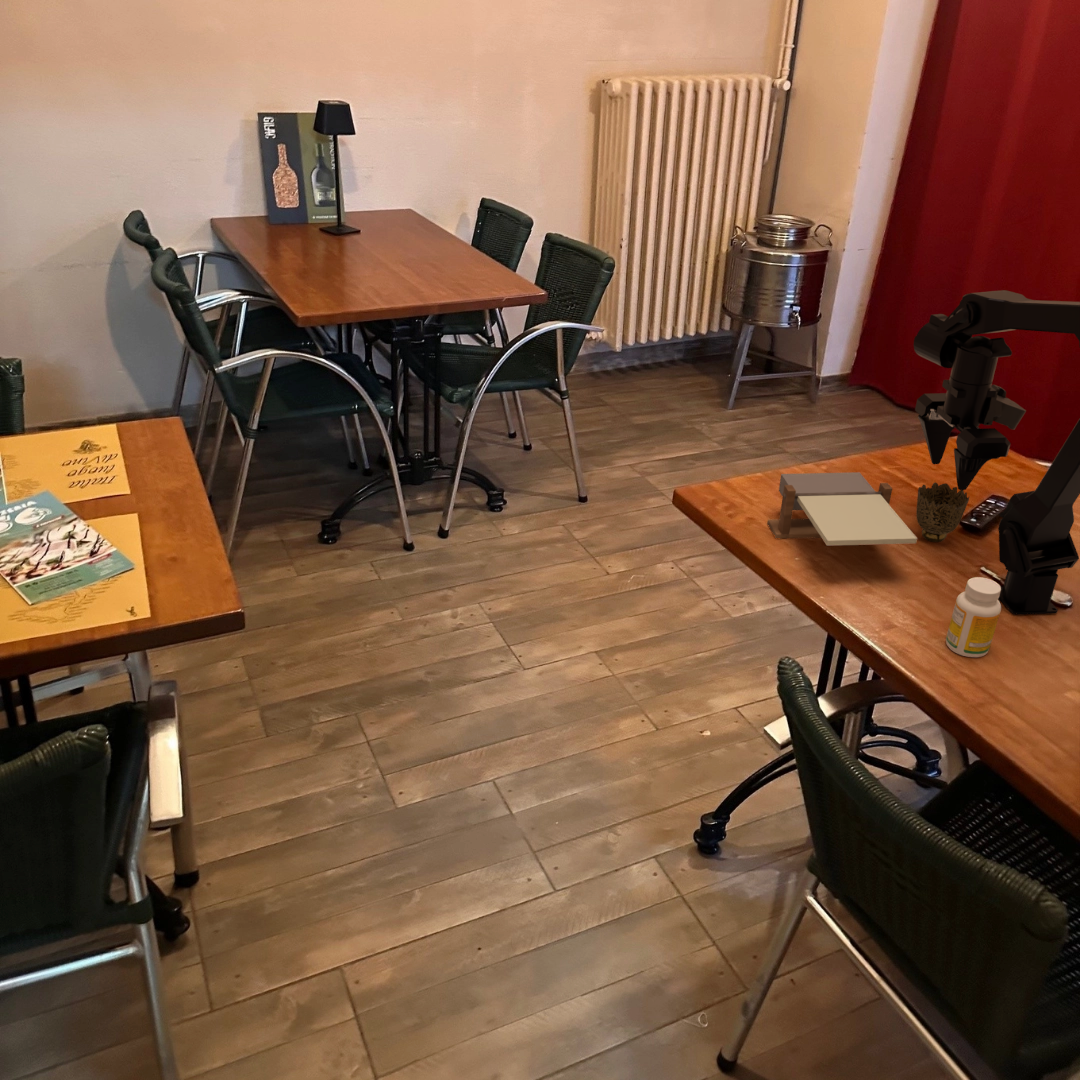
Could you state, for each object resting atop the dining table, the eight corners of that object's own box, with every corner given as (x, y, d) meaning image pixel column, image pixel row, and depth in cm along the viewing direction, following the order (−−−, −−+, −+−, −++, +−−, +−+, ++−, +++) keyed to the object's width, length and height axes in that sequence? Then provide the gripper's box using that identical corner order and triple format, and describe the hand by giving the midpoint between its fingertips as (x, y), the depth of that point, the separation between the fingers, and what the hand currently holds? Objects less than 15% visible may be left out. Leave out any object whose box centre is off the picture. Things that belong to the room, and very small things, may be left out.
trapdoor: (912, 559, 141) (917, 538, 139) (824, 561, 140) (827, 540, 139) (856, 488, 161) (860, 470, 159) (778, 490, 160) (781, 471, 158)
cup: (926, 552, 151) (937, 506, 147) (898, 530, 157) (908, 485, 153) (968, 546, 153) (979, 500, 149) (939, 524, 159) (949, 480, 155)
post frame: (887, 536, 155) (897, 488, 151) (775, 538, 154) (783, 490, 150) (875, 521, 160) (885, 474, 156) (767, 523, 158) (773, 476, 154)
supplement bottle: (938, 647, 129) (954, 584, 124) (955, 630, 132) (971, 569, 128) (979, 664, 126) (997, 601, 121) (995, 646, 129) (1013, 584, 125)
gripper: (1059, 400, 134) (1030, 502, 142) (994, 357, 151) (971, 450, 158) (980, 402, 134) (955, 504, 141) (923, 358, 150) (904, 452, 158)
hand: (948, 476), depth 150 cm, fingers open, 9 cm apart
